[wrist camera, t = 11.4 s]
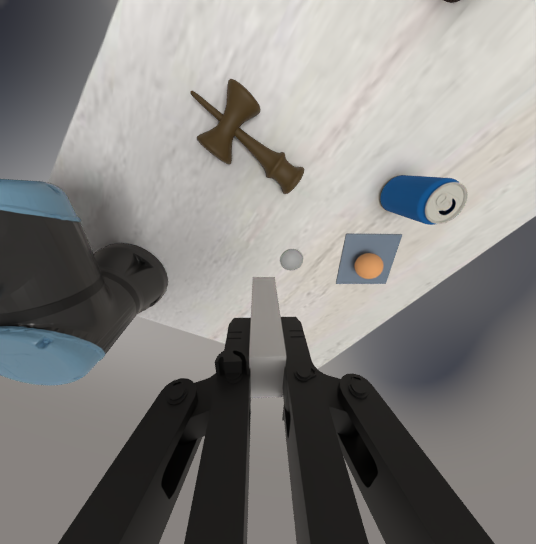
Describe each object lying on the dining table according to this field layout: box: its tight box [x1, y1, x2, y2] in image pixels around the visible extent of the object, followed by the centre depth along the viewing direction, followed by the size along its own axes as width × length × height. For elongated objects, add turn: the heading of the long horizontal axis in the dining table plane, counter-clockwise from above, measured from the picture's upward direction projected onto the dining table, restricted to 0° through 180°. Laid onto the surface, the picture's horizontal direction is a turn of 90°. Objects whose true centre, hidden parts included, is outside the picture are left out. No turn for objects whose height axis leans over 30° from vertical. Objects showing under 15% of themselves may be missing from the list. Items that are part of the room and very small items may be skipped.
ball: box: [355, 253, 384, 279], centre depth 43 cm, size 6×6×6 cm
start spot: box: [280, 249, 303, 270], centre depth 44 cm, size 5×5×1 cm
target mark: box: [336, 234, 402, 284], centre depth 45 cm, size 12×12×1 cm
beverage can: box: [380, 175, 468, 225], centre depth 34 cm, size 6×6×12 cm
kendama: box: [191, 79, 304, 194], centre depth 32 cm, size 6×10×20 cm
